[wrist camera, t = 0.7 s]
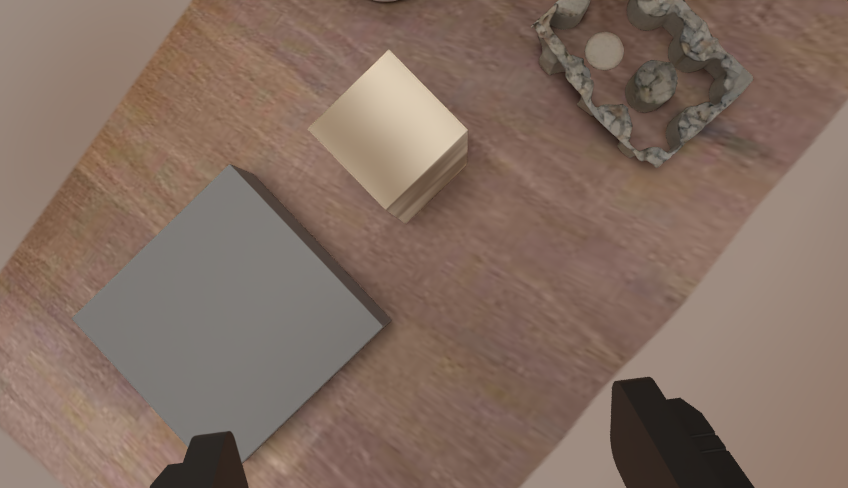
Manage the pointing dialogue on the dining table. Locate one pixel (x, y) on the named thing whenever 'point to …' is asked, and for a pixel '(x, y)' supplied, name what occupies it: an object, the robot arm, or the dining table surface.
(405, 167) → the cream block
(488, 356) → the dining table surface
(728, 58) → the egg carton
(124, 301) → the plinth
